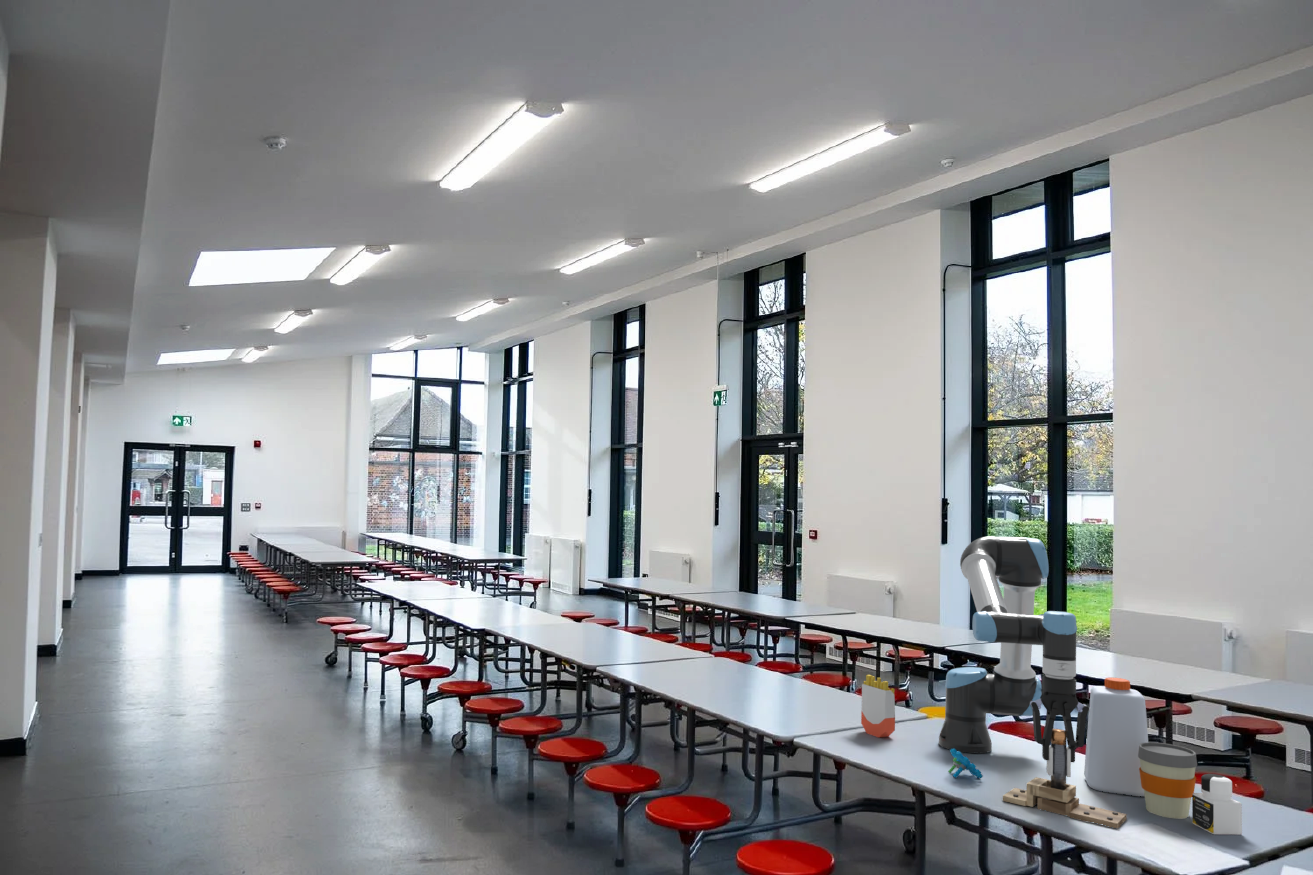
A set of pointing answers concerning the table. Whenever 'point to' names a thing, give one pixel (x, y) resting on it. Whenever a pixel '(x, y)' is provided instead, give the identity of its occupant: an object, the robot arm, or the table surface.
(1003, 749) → the table surface
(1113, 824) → the wooden mounting plate
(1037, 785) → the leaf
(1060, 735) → the pin
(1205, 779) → the medicine bottle
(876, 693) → the french fries container
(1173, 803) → the reusable coffee cup
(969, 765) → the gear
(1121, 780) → the plastic bottle
